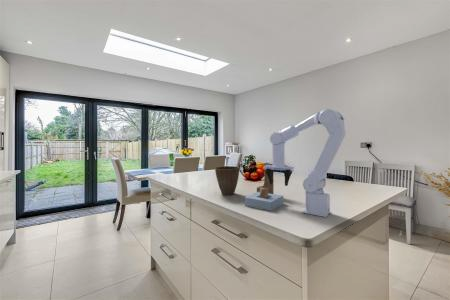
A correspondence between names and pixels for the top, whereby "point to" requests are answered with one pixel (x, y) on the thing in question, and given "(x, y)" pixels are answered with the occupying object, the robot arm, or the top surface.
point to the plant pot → (227, 179)
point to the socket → (264, 201)
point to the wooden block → (267, 183)
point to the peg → (264, 193)
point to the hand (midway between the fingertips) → (278, 184)
